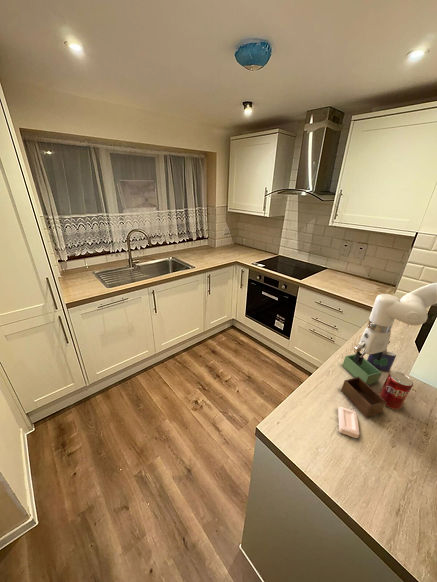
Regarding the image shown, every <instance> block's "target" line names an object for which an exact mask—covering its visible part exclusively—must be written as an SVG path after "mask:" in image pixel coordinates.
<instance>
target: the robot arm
mask: <svg viewBox="0 0 437 582" xmlns="http://www.w3.org/2000/svg"><path fill="white" fill-rule="evenodd" d="M436 304H437V282H433V283H429V284H426V285H424V286H421V287H418V288H416V289H415V290H412V291H410V292H408V293H406V294H405V295H403V296H402V297H400V298H399V297H397V296H395V295H393V294H389V293H380V294H377V296H376V297H375V299H374V303H373V306H372V308H371V312H370V314H369V318H368V321H367V324H366V327H365V329H364V331H363V333H362V335H361V337H360V339H359V343H358V344H356V345H355V346H354V347H353V351H354V354H356V355H355V358H354V361H355V362H356V363H357V364H359V365H361V364H362V361H363V359H365V357H364V356H365V355H366V354H367V355H369V354H373V355H372V356H373V357H374V358H375V359H377V360H378V361H379V360H380V359H381V356H382V354H383V353H382V352H384V351H385V350H386V349H387V350H388V346H389V344H390V343H391V341H390V339H391V335H392V328H393V325H394V322H395V321H398V322H401V323H404V324H406V325H409V326H422V325H423V324H425V323H426V322H427V320H428V316H429V315H428V311H427V308H429V307H431V306H434V305H436ZM361 351H362V352H361Z"/></svg>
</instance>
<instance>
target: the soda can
mask: <svg viewBox="0 0 437 582" xmlns="http://www.w3.org/2000/svg"><path fill="white" fill-rule="evenodd" d="M413 386H414V383H413V380H412V378H411V377H409V376H408V375H407V374H405V373H403V372H400V371H394V370H393V371H389V372H388V374H387V376H386V378H385V380H384V383H383V385H382V387H381V389H380V391H379V393H378V395H379V396H381V397H382V398H383V399H384V400H385V401H386V402H387V403H386V405H385V407H387V408H389V409H391V410H400V409H402V407H403V405H404V403H405V401H406V399H407V398H408V396H409V394H410V392H411V391H412V389H413Z"/></svg>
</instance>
